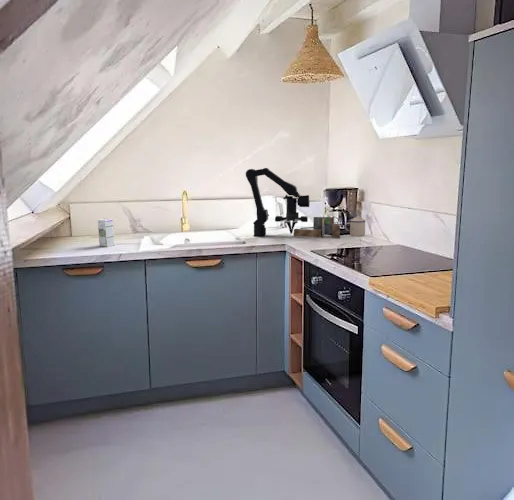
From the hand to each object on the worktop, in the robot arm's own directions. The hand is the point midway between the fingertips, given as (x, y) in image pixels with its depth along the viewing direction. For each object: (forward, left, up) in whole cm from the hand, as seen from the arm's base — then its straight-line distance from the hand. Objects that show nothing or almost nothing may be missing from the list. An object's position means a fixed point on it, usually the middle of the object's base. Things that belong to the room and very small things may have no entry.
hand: (291, 233), depth 293 cm
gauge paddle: (+19, +3, -1) cm, 19 cm away
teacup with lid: (+37, +7, -2) cm, 38 cm away
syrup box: (-96, -39, -2) cm, 103 cm away
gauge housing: (+20, +4, -2) cm, 21 cm away
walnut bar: (+10, +1, -2) cm, 10 cm away
